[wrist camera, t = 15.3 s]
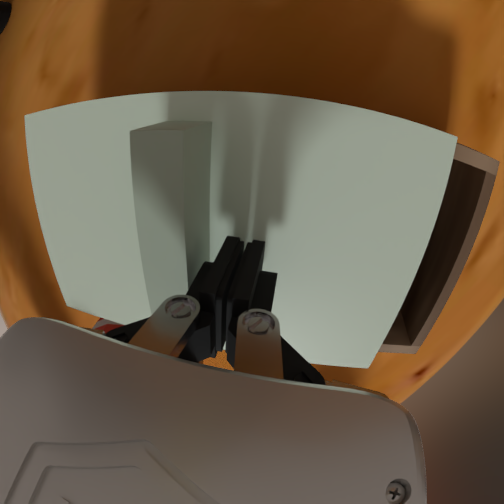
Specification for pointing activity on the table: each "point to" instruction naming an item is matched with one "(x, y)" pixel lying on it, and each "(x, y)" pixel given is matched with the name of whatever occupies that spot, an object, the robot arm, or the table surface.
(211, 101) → the lid
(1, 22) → the black cafetiere
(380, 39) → the table surface
